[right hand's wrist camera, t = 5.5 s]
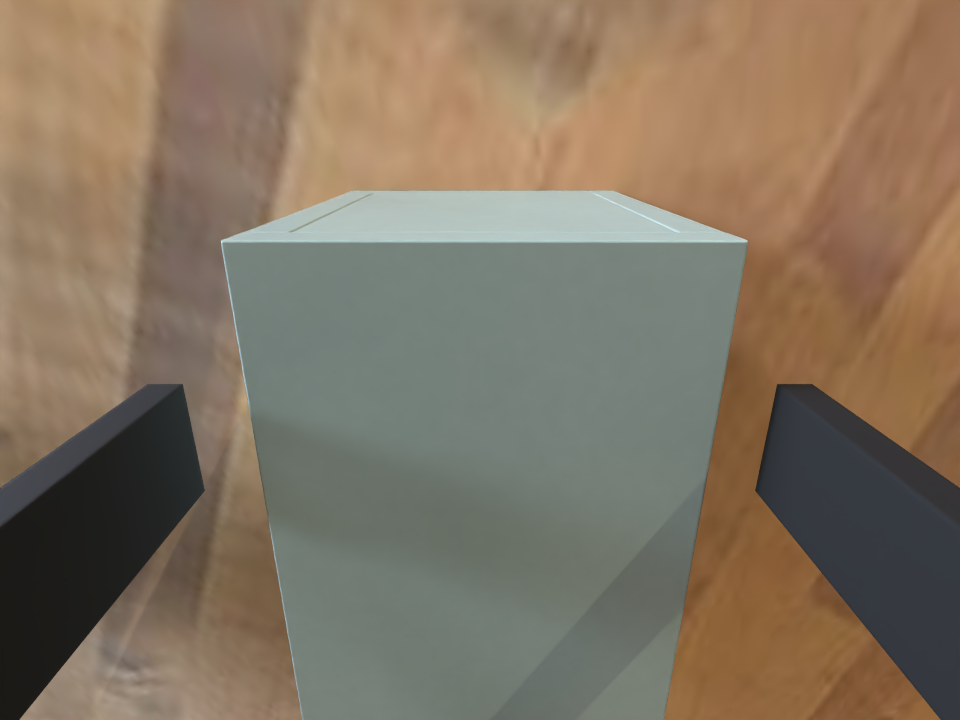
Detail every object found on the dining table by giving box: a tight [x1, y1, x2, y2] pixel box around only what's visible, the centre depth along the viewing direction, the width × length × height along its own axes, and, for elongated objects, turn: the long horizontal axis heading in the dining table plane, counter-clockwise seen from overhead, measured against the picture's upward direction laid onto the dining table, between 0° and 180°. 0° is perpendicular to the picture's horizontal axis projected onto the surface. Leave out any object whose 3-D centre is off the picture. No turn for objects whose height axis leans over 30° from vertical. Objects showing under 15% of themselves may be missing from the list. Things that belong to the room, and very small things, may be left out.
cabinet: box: [221, 191, 748, 720], centre depth 19 cm, size 17×10×12 cm, turn 0°
